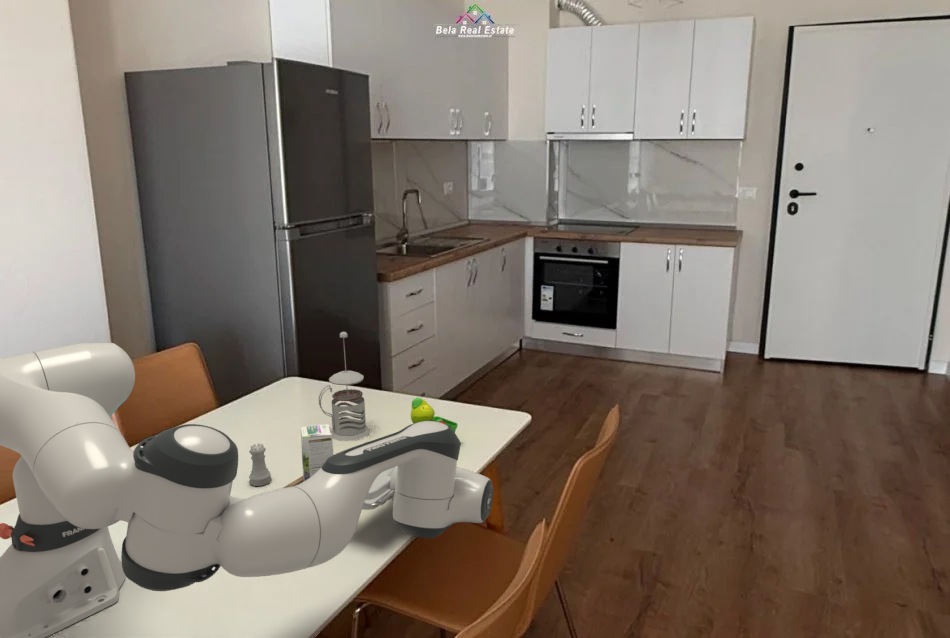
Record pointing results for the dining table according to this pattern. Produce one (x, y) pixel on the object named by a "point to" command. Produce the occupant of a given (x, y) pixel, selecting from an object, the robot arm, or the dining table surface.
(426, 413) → the fruit basket
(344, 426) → the french press
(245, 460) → the dining table surface
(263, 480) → the rook chess piece
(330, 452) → the syrup box
